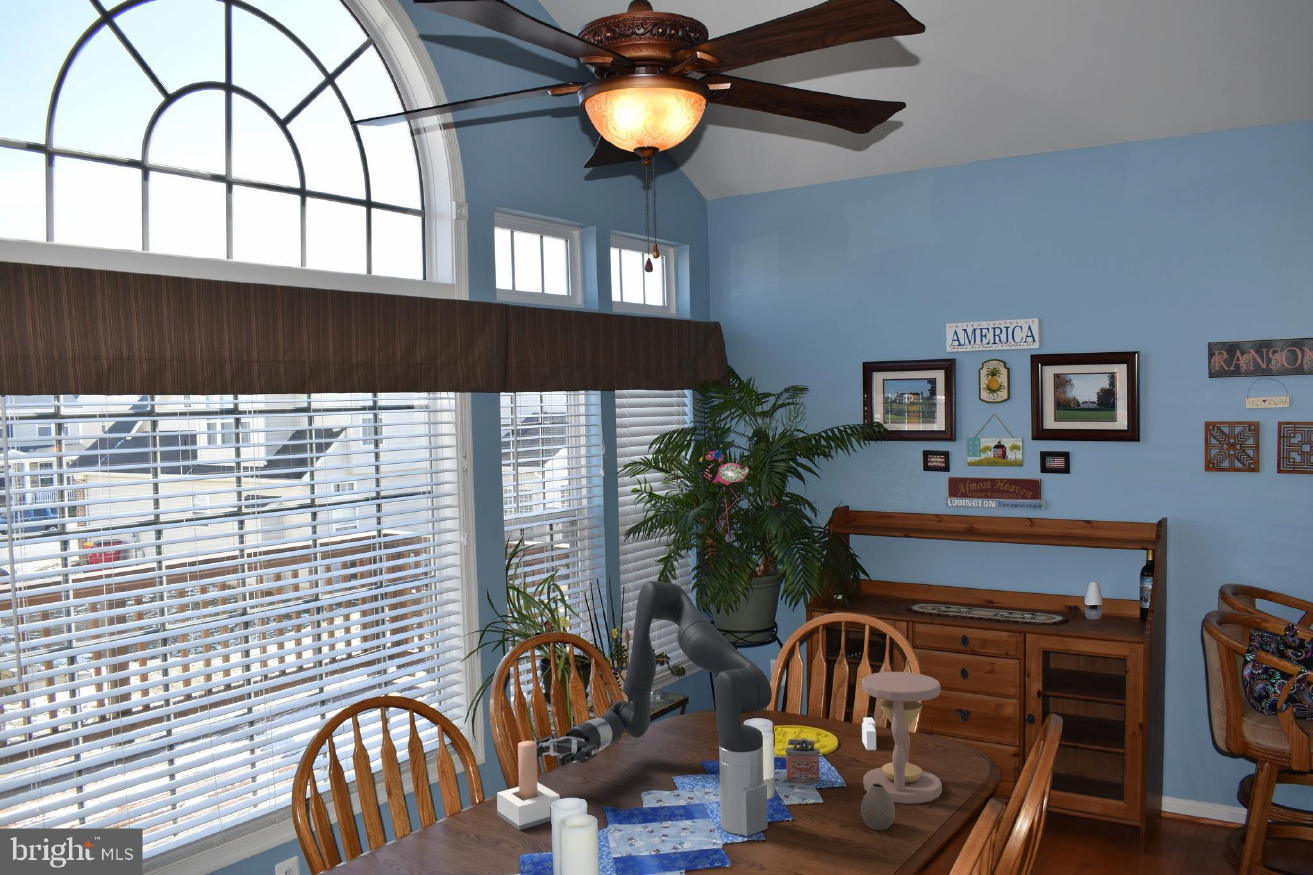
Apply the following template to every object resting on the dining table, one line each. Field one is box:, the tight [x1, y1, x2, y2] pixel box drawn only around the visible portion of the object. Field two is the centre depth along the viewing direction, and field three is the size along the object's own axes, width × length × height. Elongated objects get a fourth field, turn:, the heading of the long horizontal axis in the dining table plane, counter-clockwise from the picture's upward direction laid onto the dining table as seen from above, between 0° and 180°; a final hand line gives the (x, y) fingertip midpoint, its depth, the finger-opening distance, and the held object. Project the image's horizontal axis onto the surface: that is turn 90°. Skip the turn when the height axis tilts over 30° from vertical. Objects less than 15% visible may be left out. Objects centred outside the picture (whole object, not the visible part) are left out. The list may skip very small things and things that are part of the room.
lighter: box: [785, 738, 821, 784], centre depth 227 cm, size 8×3×10 cm, turn 84°
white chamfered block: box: [861, 716, 877, 751], centre depth 253 cm, size 15×11×6 cm
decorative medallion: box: [773, 724, 839, 757], centre depth 254 cm, size 24×24×2 cm
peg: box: [517, 740, 538, 801], centre depth 209 cm, size 4×4×15 cm
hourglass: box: [861, 671, 943, 805], centre depth 221 cm, size 18×18×25 cm
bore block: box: [496, 781, 561, 831], centre depth 209 cm, size 10×10×5 cm
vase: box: [860, 783, 896, 831], centre depth 201 cm, size 7×7×9 cm
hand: (545, 758), depth 214 cm, fingers open, 8 cm apart
